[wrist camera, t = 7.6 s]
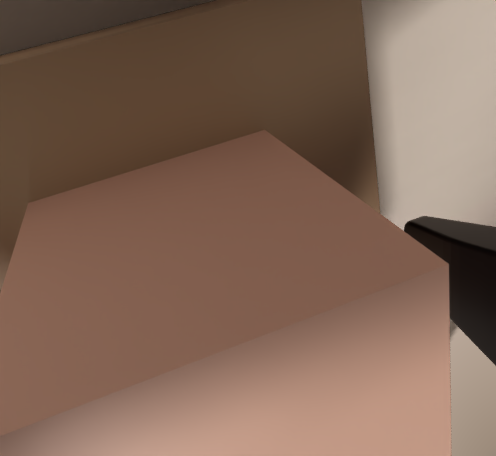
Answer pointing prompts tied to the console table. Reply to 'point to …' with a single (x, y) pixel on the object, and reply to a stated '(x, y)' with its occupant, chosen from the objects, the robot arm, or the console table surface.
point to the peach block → (222, 317)
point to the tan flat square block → (185, 97)
